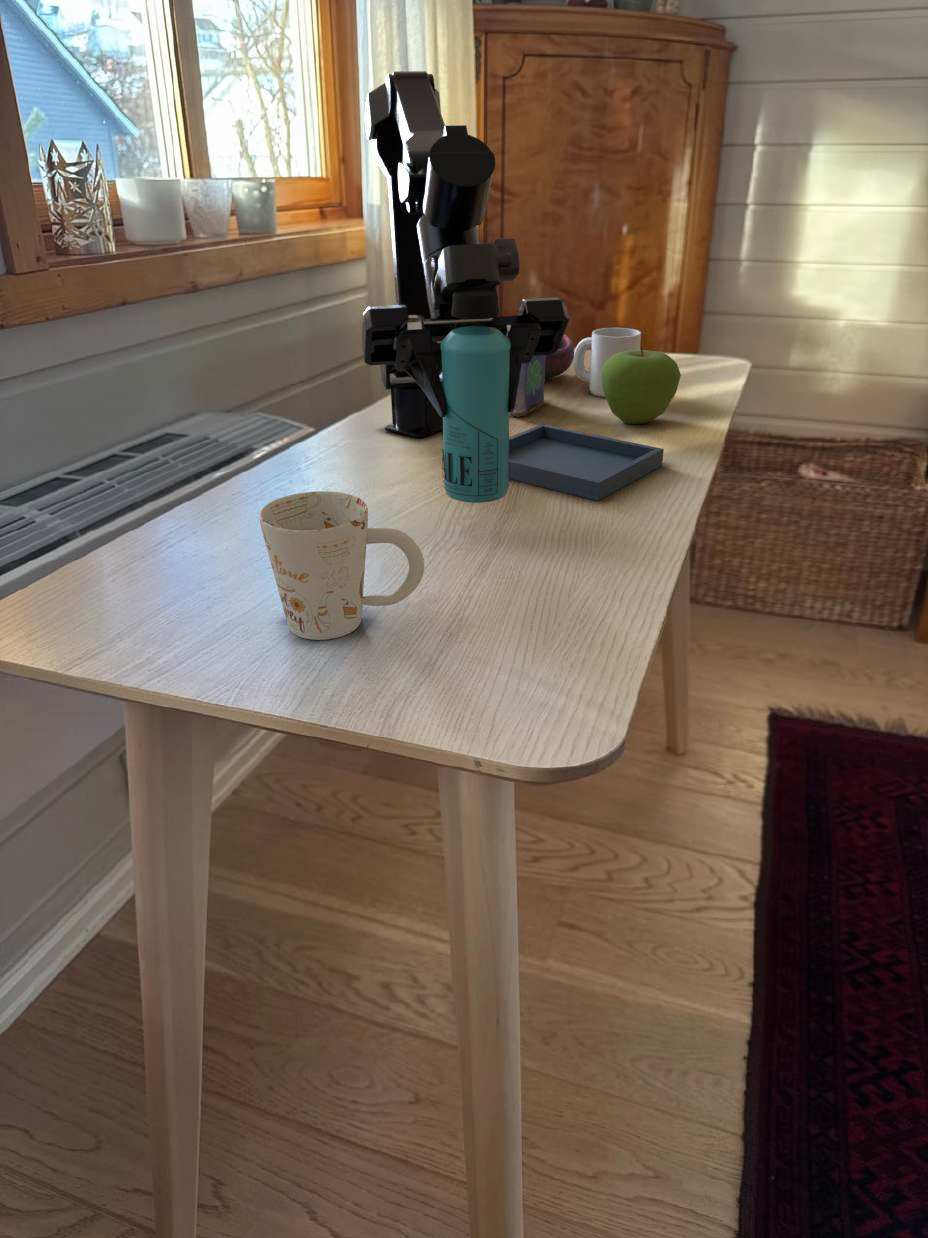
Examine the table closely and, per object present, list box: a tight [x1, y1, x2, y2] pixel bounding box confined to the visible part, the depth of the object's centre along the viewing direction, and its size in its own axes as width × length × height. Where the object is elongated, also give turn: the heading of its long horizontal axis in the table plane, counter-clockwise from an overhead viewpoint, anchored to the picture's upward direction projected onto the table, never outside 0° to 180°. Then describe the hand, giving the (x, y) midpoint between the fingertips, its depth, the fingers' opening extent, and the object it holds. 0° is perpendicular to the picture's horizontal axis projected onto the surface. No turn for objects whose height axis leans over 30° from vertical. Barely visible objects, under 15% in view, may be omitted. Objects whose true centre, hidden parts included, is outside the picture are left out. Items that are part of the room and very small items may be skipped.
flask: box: [509, 355, 546, 418], centre depth 128 cm, size 9×3×11 cm, turn 151°
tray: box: [509, 423, 665, 502], centre depth 107 cm, size 18×15×2 cm
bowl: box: [545, 333, 575, 380], centre depth 145 cm, size 16×13×8 cm
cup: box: [573, 327, 642, 398], centre depth 136 cm, size 7×10×9 cm
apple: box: [601, 347, 682, 425], centre depth 122 cm, size 11×10×10 cm
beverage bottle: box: [440, 288, 512, 504], centre depth 82 cm, size 6×7×20 cm
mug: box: [258, 490, 425, 641], centre depth 72 cm, size 8×13×10 cm, turn 95°
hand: (477, 412), depth 81 cm, fingers closed on beverage bottle, 6 cm apart
